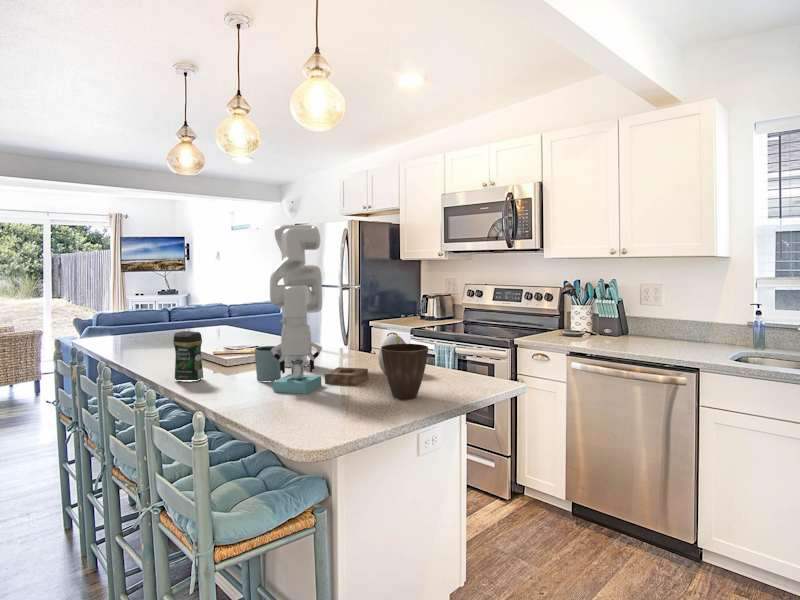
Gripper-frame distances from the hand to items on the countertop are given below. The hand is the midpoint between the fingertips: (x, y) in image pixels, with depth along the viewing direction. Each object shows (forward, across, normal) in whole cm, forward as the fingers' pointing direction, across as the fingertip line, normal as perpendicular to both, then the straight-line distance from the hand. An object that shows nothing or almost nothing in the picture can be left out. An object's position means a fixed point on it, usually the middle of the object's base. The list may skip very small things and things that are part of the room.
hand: (297, 372), depth 173 cm
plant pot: (+6, +34, -18) cm, 40 cm away
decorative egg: (+6, +36, +18) cm, 41 cm away
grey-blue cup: (+6, -11, +16) cm, 21 cm away
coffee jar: (+6, -41, +21) cm, 46 cm away
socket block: (+6, 0, 0) cm, 6 cm away
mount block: (+6, +17, +8) cm, 20 cm away
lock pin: (+6, 0, 0) cm, 6 cm away
